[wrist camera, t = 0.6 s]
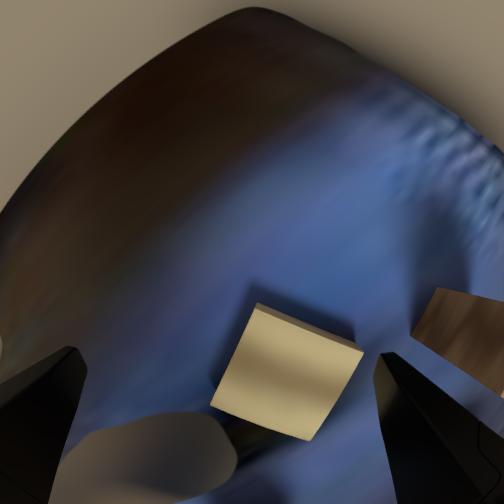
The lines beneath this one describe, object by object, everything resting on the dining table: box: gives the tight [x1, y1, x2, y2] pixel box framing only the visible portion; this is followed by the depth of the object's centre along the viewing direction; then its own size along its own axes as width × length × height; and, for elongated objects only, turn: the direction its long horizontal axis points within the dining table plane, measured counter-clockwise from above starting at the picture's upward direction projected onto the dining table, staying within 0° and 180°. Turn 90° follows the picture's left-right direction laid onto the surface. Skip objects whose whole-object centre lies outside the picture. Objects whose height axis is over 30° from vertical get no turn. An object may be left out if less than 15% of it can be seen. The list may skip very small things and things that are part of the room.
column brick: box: [410, 287, 504, 398], centre depth 15 cm, size 5×5×13 cm
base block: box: [210, 302, 364, 441], centre depth 22 cm, size 9×9×3 cm
